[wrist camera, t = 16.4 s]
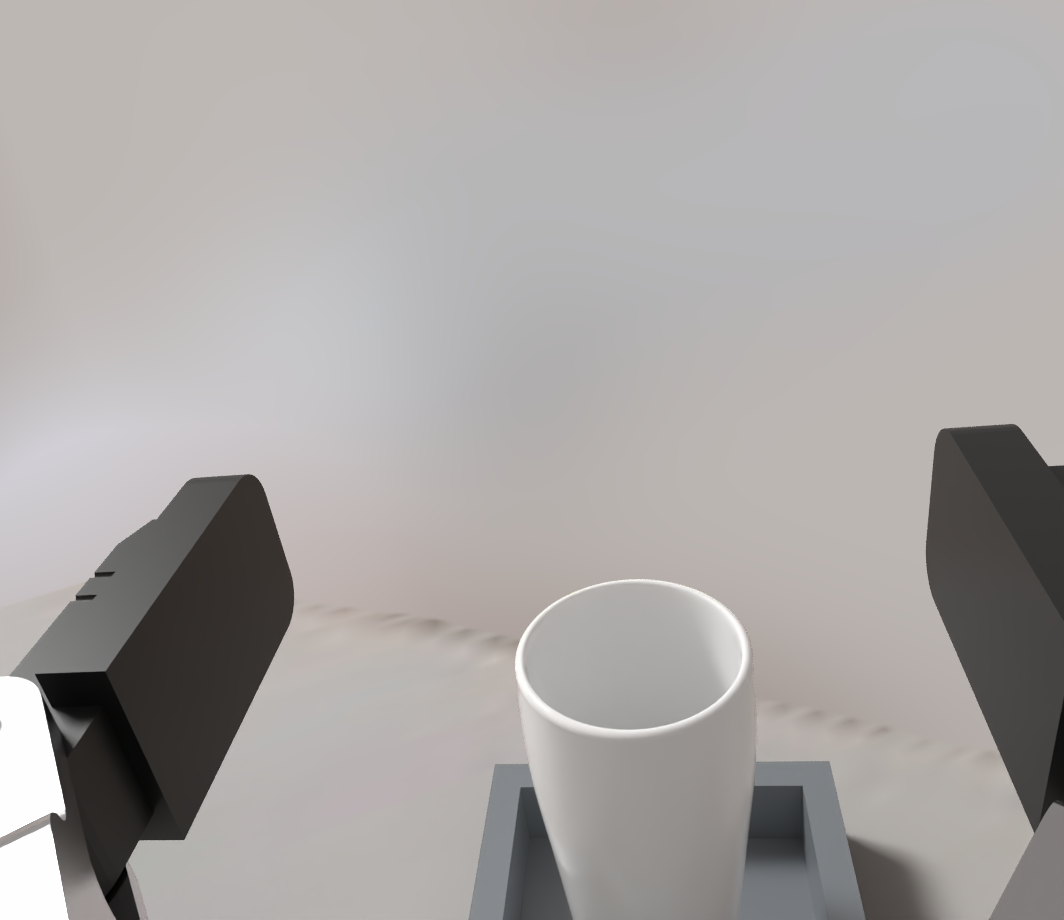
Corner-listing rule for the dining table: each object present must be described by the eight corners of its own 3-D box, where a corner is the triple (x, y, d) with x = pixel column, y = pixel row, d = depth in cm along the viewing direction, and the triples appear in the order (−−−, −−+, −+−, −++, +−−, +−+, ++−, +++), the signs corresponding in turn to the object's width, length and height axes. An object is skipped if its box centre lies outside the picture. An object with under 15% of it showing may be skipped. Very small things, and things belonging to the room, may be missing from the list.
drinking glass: (757, 897, 36) (755, 577, 28) (760, 1087, 30) (757, 747, 23) (581, 880, 37) (535, 573, 30) (550, 1058, 31) (485, 731, 24)
